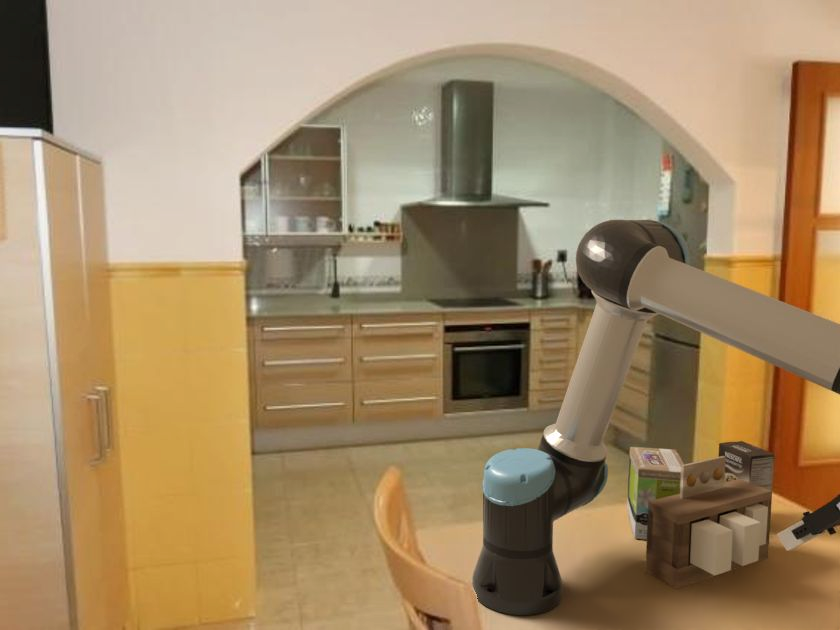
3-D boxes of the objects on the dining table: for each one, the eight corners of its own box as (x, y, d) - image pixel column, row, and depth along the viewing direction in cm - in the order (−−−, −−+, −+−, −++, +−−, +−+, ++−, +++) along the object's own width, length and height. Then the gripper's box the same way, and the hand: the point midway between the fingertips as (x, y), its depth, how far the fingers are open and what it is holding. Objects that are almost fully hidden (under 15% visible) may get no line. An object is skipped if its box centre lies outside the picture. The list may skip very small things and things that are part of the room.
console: (645, 570, 121) (649, 469, 119) (735, 542, 132) (740, 448, 130) (676, 588, 115) (681, 481, 112) (768, 557, 126) (774, 459, 123)
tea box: (687, 544, 131) (690, 471, 130) (633, 539, 133) (636, 468, 132) (673, 513, 146) (676, 447, 144) (625, 509, 148) (628, 444, 146)
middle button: (717, 553, 119) (719, 515, 118) (733, 548, 121) (735, 511, 120) (742, 565, 114) (744, 526, 114) (758, 560, 116) (760, 522, 115)
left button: (689, 562, 116) (691, 523, 115) (706, 557, 117) (707, 519, 117) (714, 575, 111) (716, 535, 110) (730, 570, 113) (732, 530, 112)
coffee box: (713, 515, 145) (717, 442, 143) (737, 511, 147) (741, 439, 145) (745, 532, 136) (750, 455, 134) (771, 528, 138) (775, 452, 136)
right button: (727, 537, 125) (729, 501, 124) (741, 533, 127) (743, 497, 126) (751, 548, 121) (753, 511, 120) (765, 543, 123) (768, 507, 122)
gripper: (910, 507, 81) (772, 575, 98) (964, 488, 87) (826, 555, 104) (868, 452, 85) (742, 527, 102) (922, 438, 91) (795, 510, 108)
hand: (784, 541), depth 103 cm, fingers closed
